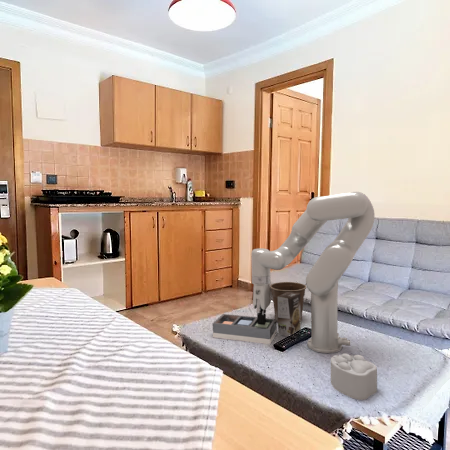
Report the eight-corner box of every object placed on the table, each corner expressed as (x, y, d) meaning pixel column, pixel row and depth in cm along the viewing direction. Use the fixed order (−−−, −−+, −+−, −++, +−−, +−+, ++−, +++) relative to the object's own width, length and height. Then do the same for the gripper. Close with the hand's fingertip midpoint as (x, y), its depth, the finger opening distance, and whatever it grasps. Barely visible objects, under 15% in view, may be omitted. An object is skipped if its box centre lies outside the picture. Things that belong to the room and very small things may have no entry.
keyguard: (276, 328, 147) (276, 319, 147) (270, 339, 136) (269, 329, 136) (223, 322, 156) (223, 313, 155) (212, 332, 144) (212, 323, 144)
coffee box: (291, 337, 142) (291, 298, 140) (277, 334, 146) (276, 296, 144) (301, 330, 149) (300, 293, 148) (287, 327, 153) (287, 291, 151)
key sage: (270, 328, 144) (269, 322, 144) (267, 332, 140) (267, 327, 140) (258, 327, 146) (258, 321, 146) (255, 331, 141) (254, 325, 141)
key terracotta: (235, 327, 150) (235, 322, 150) (231, 332, 145) (231, 326, 145) (224, 326, 152) (224, 321, 151) (220, 330, 147) (220, 325, 147)
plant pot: (288, 311, 173) (288, 279, 171) (314, 320, 159) (313, 286, 158) (263, 319, 163) (262, 285, 162) (288, 329, 150) (287, 292, 149)
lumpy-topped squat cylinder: (360, 403, 97) (360, 372, 96) (322, 383, 107) (322, 356, 106) (381, 389, 103) (381, 361, 102) (343, 372, 113) (343, 346, 112)
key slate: (252, 326, 147) (252, 320, 147) (249, 330, 142) (248, 325, 142) (241, 325, 149) (241, 319, 149) (237, 329, 144) (237, 323, 144)
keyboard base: (276, 332, 147) (276, 328, 147) (270, 344, 136) (270, 339, 136) (223, 326, 156) (223, 322, 156) (213, 337, 145) (212, 332, 144)
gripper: (265, 284, 133) (266, 331, 135) (274, 275, 147) (274, 318, 149) (246, 283, 136) (247, 329, 137) (257, 274, 150) (257, 316, 151)
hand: (261, 323), depth 143 cm, fingers closed
